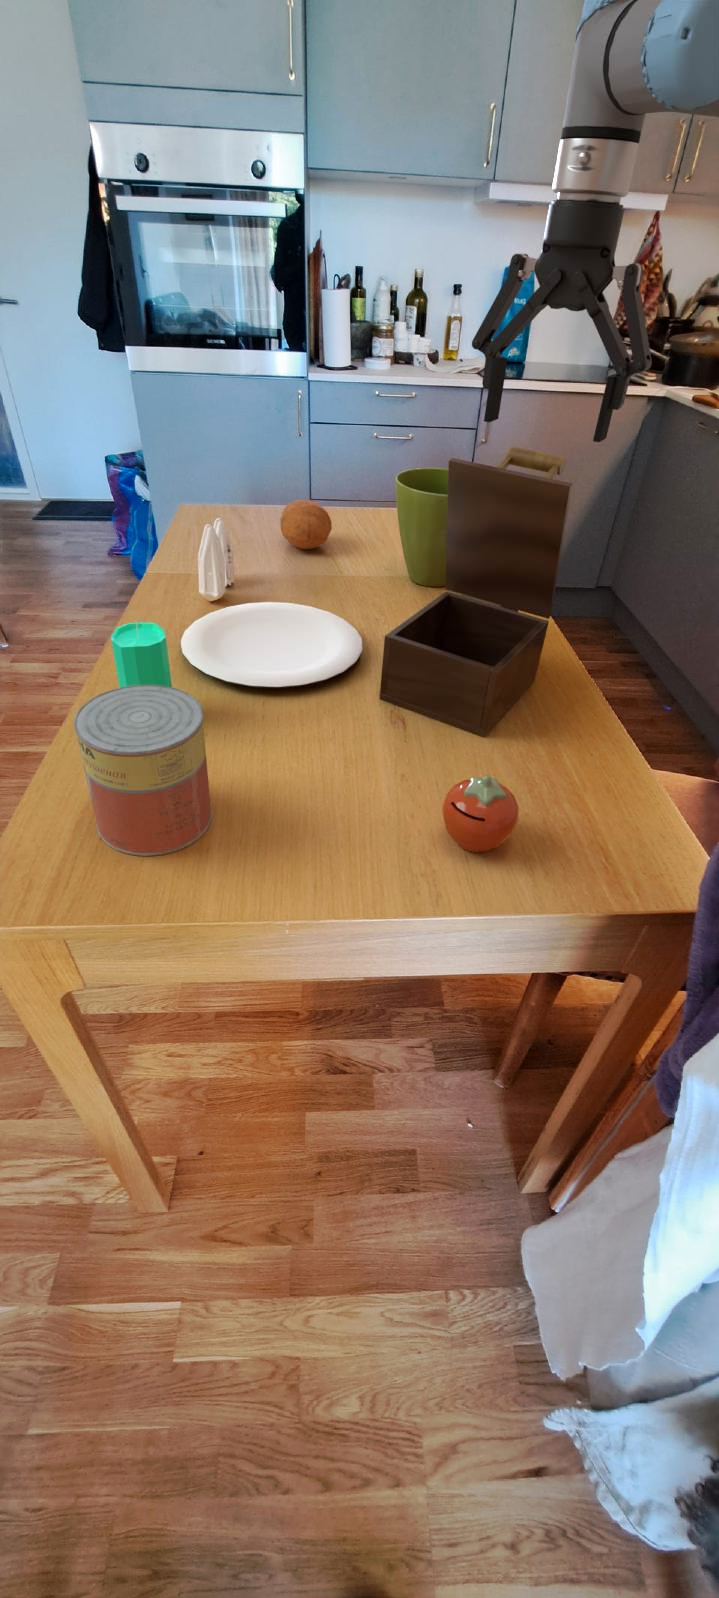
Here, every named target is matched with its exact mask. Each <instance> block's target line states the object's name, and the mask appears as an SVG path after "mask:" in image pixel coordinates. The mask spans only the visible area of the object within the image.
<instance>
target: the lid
mask: <svg viewBox="0 0 719 1598" xmlns="http://www.w3.org/2000/svg"><path fill="white" fill-rule="evenodd" d="M566 463H567V458H566V457H565V456H561V455H556V454H553V453H546V452H542V451H536V450H531V449H526V448H521V447H518V446H517V447H516V446H509V447H508V449H507V451H506V454H505V458H503V460H502V461H501V462H500V463H499V464H498V465H497V466H492V465H488V464H483V463H478V462H473V461H469V460H464V459H459V458H455V457H451V458H450V459H449V460H448V468H447V469H448V504H447V541H446V579H445V586H444V589H445V591H449V592H452V593H456V594H457V593H460V594H464V595H467V596H471V597H474V598H478V599H481V600H485V601H488V602H492V603H495V604H499V605H502V606H505V607H509V608H512V609H516V610H518V611H519V612H522V613H525V614H529V615H532V616H536V617H539V618H540V617H541V618H543V619H546V620H549V619H550V618H551V616H552V612H553V606H554V599H555V594H556V588H557V582H558V577H559V570H560V563H561V556H562V552H563V551H562V550H563V544H564V539H565V533H566V525H567V521H568V520H567V519H568V513H569V507H570V501H571V495H572V490H573V488H572V487H573V483H572V482H568V481H562V480H558V479H554V477H556V476H557V475H558V476H561V475H562V474H563V473H564V471H565V468H566ZM509 466H513V467H519V468H524V469H530V470H535V471H539V472H544V473H546V474H545V475H544V476H540V475H536V474H535V475H534V474H531V473H530V474H529V473H525V472H521V471H516V470H512V469H507V468H508V467H509Z"/></svg>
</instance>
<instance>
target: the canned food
mask: <svg viewBox="0 0 719 1598" xmlns="http://www.w3.org/2000/svg"><path fill="white" fill-rule="evenodd" d="M73 729H74V731H75V732H74V733H75V735H76V737H77V741H78V746H79V750H80V754H81V760H82V764H83V768H84V773H85V778H86V782H87V786H88V791H89V796H90V799H91V805H92V808H93V813H94V818H95V824H96V825H95V828H96V831H97V834H98V835H99V837H100V839H101V840H102V841H103V843H105V844H106V845H107V846H109V847H110V848H112V849H114V850H116V851H118V852H120V853H123V854H128V855H132V856H141V857H152V856H161V855H166V854H171V853H174V852H177V851H179V850H182V849H184V848H187V847H188V846H189V845H192V844H193V843H195V842H196V841H198V839H200V838H201V837H202V836H203V835H204V834H205V833H206V831H207V830H208V829H209V827H210V825H211V822H212V819H213V807H212V805H211V794H210V783H209V772H208V771H209V770H208V763H207V762H208V761H207V749H206V740H205V730H204V729H205V728H204V709H203V706H202V705H201V703H200V702H199V700H197V698H196V697H194V696H193V695H191V694H189V693H188V692H186V691H184V690H182V689H179V688H175V687H173V686H172V687H167V686H161V685H134V686H127V687H121V688H120V687H118V688H114V689H110V690H108V691H105V692H103V693H100V694H98V695H96V696H94V697H93V698H91V699H89V700H88V701H86V702H85V703H84V704H83V705H82V706H81V707H80V708H79V709H78V711H77V712H76V714H75V716H74V718H73Z"/></svg>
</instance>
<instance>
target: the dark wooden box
mask: <svg viewBox="0 0 719 1598" xmlns="http://www.w3.org/2000/svg"><path fill="white" fill-rule="evenodd" d="M549 622H550V621H549V620H548V619H545V618H543V619H542V618H540V617H538V616H535V615H531V614H528V613H524V612H521V611H519V612H516V611H513V610H509V609H506V608H502V607H499V606H495V605H492V604H489V603H485V602H482V601H478V600H475V599H471V598H468V597H464V596H461V595H457V593H455V592H452V591H448V590H445V591H444V592H443V593H441V594H440V595H438V596H437V597H436V598H435V599H433V600H432V601H431V602H429V603H428V604H426V605H425V606H423V607H422V608H421V609H420V610H418V611H417V612H415V613H414V614H412V615H411V616H410V617H408V618H407V619H406V620H404V621H403V622H402V623H400V624H399V625H397V626H396V627H395V628H393V629H392V630H390V631H389V632H388V633H386V634H385V635H384V640H383V652H382V662H381V663H382V664H381V675H380V687H379V700H382V701H384V702H385V703H389V704H392V705H394V706H397V707H400V708H403V709H406V710H408V711H412V712H414V713H415V714H416V713H417V714H419V715H422V716H425V717H428V718H430V719H433V720H436V721H438V722H441V723H444V724H446V725H450V726H452V727H455V728H458V729H460V730H463V731H466V732H469V733H471V734H474V735H477V736H479V737H483V738H486V737H487V736H488V735H489V733H491V731H492V730H493V729H494V728H495V727H496V726H497V725H498V724H499V722H500V721H501V720H502V719H503V718H504V717H505V715H506V714H508V712H509V711H510V710H511V709H512V708H513V707H514V705H515V704H516V703H517V702H518V701H520V699H521V697H522V696H523V695H524V694H525V693H526V692H527V691H528V690H529V689H530V688H531V687H532V685H533V684H534V683H535V682H536V679H537V675H538V674H537V673H538V669H539V666H540V661H541V656H542V652H543V648H544V643H545V639H546V635H547V632H548V627H549Z"/></svg>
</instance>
